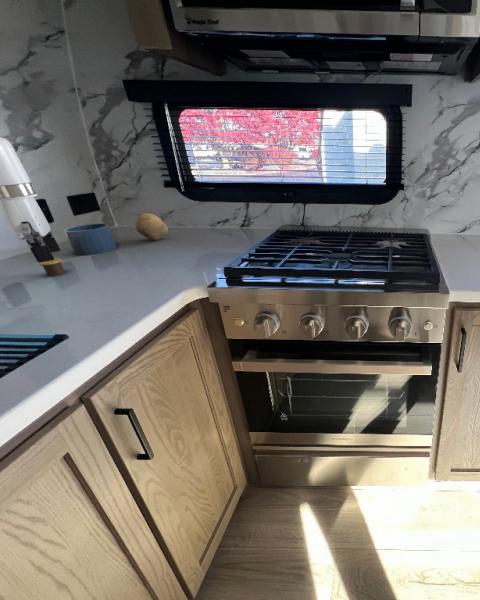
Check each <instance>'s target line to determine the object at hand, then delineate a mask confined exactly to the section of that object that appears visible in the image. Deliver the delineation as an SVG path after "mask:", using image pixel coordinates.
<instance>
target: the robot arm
mask: <svg viewBox="0 0 480 600" xmlns="http://www.w3.org/2000/svg"><path fill="white" fill-rule="evenodd" d="M35 197H39V194H38V192H37V190H36V188H35V186H34V185H33V183H32V180H31V179H30V177H29V175H28V173H27V171H26V169H25V167H24V166H23V163H22V162H21V160H20V158H19V156H18V154H17V152H16V150H15V148H14V146H13V144H12V143H11V141H9V140H8V139H7V138H5V137H1V136H0V203H1V206H2V208H3V211H4V213H5V215H6V217H7V220H8V221H9V223H10V225H11V227H12V229H13V231H14V232H15V235H16V237H17V238H18V240H21V241H25V242H26V243H27V245H28V247H29V249H30V251H31V253H32V255H33V256H34V258H35V260H36V262H37V263H38V264H39V263H40V262H46V261H52V260H54V259H55V257H54V255H53V253H56V252H60V251H61V248H60V246H59V243H58V241H57V240H56V238H55V237H54V236H53V233H52V232H51V226H50V224H49V222H48V220H47V217H46V216H45V214H44V213H43V211H42V209H41V208H40V206H39V204H38V201H37V200H36V199H35Z"/></svg>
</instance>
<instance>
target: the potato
mask: <svg viewBox="0 0 480 600" xmlns="http://www.w3.org/2000/svg"><path fill="white" fill-rule="evenodd" d="M135 229H136V232H138V233H139V234H140V235H141V236H143V237H145V238H147V239H148V240H151V241H158V240H161V239H162V237H164V236H165V235H166V234H168V231H169V228H168V226H167V224H166V223H165V222H164V221H163V220H162V219H161V218H160V217H158V216H157V215H155V214H153V213H150V212H149V213H148V212H146V213H141V214H140V215H139V216H138V217H137V218H136V221H135Z"/></svg>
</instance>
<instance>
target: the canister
mask: <svg viewBox="0 0 480 600" xmlns="http://www.w3.org/2000/svg"><path fill="white" fill-rule="evenodd" d="M63 231H64V234H65V236H66V238H67V240H68V242H69V244H70V246H71V248H72V250H73V252H74V254H75V255H76V256H79V257H80V256H83V257H84V256H92V255H93V256H94V255H99V254H104V253H108V252H112V251H114V250H117V248H118V245H117V242H116V240H115V238H114V234H113V233H112V230H111V227H110V226H109V224H108V223H104V222H103V223H98V222H97V223H89V224H82V225H76V226H72V227H68V228H66V229H64V230H63Z"/></svg>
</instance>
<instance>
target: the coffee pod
mask: <svg viewBox="0 0 480 600" xmlns="http://www.w3.org/2000/svg"><path fill="white" fill-rule="evenodd" d="M38 264H39V266H41V267H43V270H44V272H45V273H46V275H47V276H48V277H57V276H61V275H64V274H66V271H65V269H64V267H63V265H62V258H54V260H52V261H46V262H40V263H39V262H38Z"/></svg>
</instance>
